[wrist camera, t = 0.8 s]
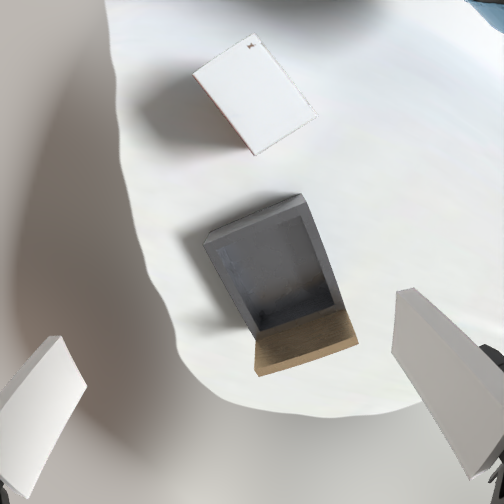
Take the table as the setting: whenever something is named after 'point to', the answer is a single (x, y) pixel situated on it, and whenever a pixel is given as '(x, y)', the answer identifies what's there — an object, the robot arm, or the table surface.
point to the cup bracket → (282, 285)
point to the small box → (255, 94)
